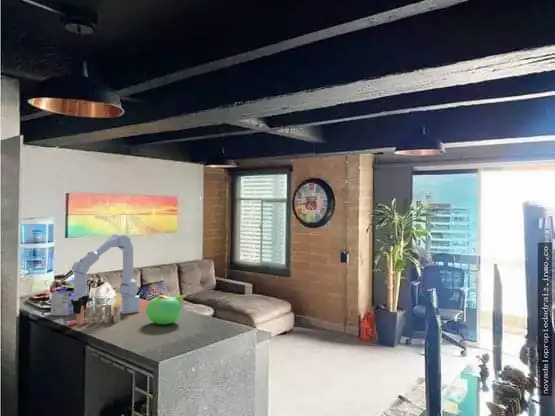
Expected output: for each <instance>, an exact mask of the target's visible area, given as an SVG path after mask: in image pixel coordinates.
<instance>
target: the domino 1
mask: <svg viewBox="0 0 555 416" xmlns="http://www.w3.org/2000/svg"><path fill="white" fill-rule="evenodd" d="M75 315H76V318H75V319H76V322H75V323H76V325H78V324H82V323H83V322H84V321H85V310H84V305H82V306H81V312H80V314H75Z"/></svg>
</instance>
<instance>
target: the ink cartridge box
mask: <svg viewBox="0 0 555 416" xmlns="http://www.w3.org/2000/svg"><path fill="white" fill-rule="evenodd" d="M67 290H68V287H66V286H65V287H63V286H61V287H60V288H59V291H54V292H52V293H51V295H50V301H51V302H50V316H70V315H72V314H74V307H73V304H72V303H71V300H73V297H74V296H72V294H74V291H73V290H72V291H67Z"/></svg>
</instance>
